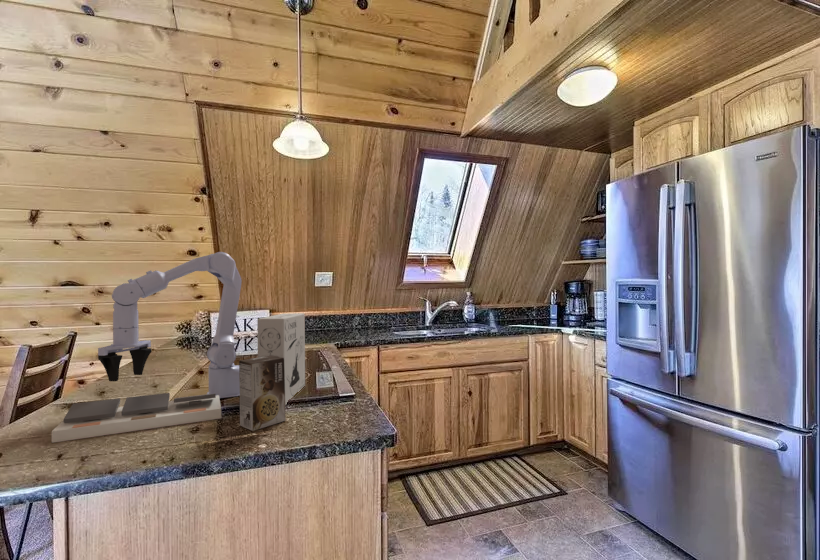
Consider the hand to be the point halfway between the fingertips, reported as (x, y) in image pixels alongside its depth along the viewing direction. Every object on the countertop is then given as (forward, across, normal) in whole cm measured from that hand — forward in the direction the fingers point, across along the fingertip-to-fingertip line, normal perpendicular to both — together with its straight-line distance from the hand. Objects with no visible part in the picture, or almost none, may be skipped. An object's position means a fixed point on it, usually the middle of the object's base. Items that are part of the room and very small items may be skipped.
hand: (126, 377), depth 111 cm
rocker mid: (+5, +4, +11) cm, 13 cm away
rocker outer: (+5, +11, +2) cm, 13 cm away
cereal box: (+10, -22, +35) cm, 42 cm away
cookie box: (+10, +2, +42) cm, 43 cm away
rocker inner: (+5, -2, +19) cm, 20 cm away
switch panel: (+10, +4, +11) cm, 15 cm away
